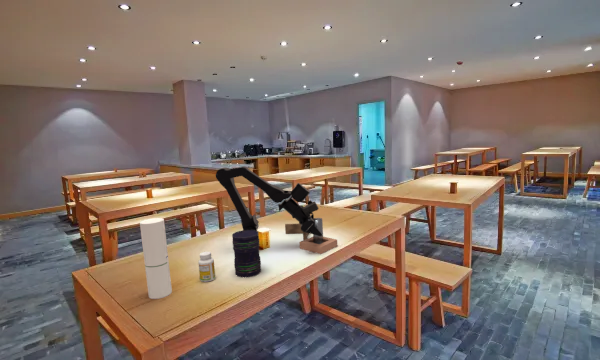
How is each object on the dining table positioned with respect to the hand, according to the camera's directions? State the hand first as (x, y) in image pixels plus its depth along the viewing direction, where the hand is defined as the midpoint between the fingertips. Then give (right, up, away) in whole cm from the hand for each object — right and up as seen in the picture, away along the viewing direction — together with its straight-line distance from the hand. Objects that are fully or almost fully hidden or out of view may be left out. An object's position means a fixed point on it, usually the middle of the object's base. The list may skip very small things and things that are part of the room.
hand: (320, 232), depth 142 cm
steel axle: (-1, -7, +1) cm, 7 cm away
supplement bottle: (-43, -13, -26) cm, 52 cm away
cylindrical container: (-56, -15, -35) cm, 68 cm away
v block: (-8, -5, +21) cm, 23 cm away
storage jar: (-29, -12, -22) cm, 38 cm away
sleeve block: (-1, -7, +1) cm, 7 cm away
